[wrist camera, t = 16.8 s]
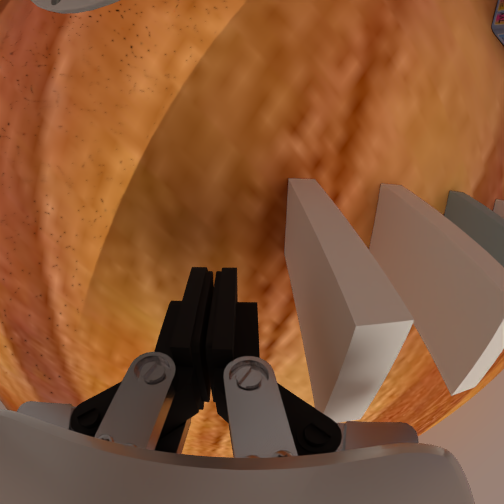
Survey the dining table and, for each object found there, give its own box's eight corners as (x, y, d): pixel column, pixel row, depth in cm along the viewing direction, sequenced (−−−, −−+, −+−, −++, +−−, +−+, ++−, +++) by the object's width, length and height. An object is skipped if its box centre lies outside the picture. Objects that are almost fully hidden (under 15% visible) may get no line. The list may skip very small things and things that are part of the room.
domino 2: (368, 252, 19) (451, 395, 8) (380, 183, 16) (512, 302, 6) (387, 252, 19) (475, 386, 9) (401, 185, 16) (533, 297, 6)
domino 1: (284, 252, 19) (318, 424, 8) (288, 178, 16) (356, 325, 6) (308, 252, 19) (360, 418, 8) (315, 179, 16) (414, 319, 6)
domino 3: (433, 251, 19) (523, 363, 9) (449, 190, 17) (570, 285, 6) (448, 251, 19) (536, 357, 9) (464, 192, 17) (579, 283, 6)
